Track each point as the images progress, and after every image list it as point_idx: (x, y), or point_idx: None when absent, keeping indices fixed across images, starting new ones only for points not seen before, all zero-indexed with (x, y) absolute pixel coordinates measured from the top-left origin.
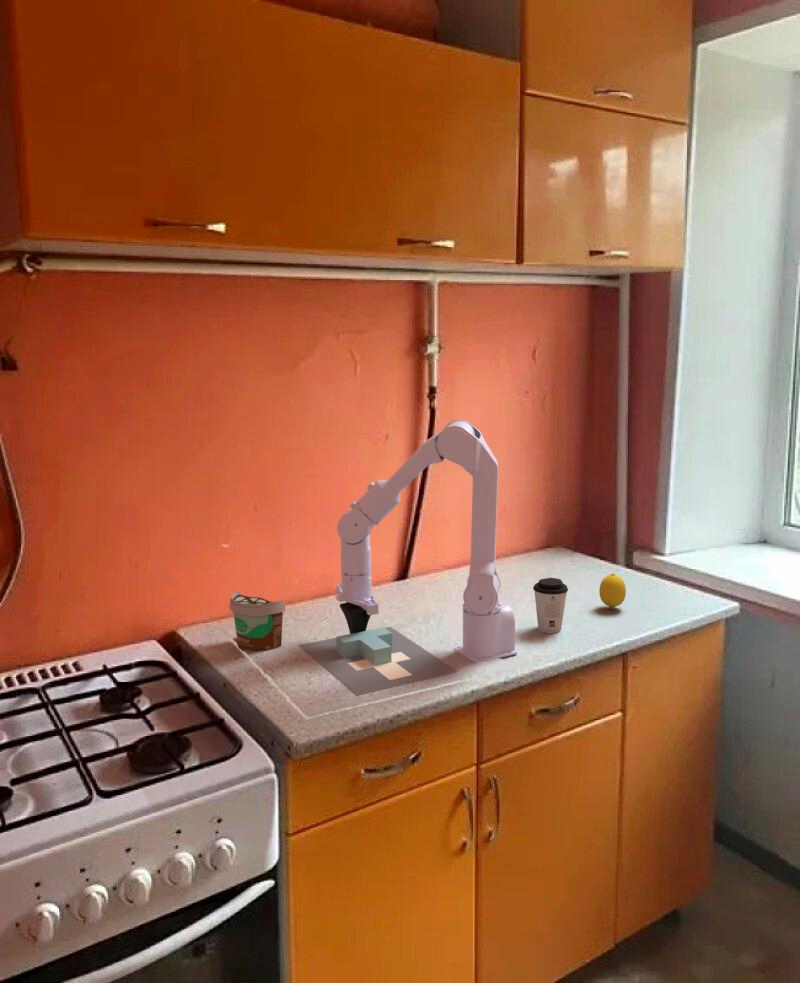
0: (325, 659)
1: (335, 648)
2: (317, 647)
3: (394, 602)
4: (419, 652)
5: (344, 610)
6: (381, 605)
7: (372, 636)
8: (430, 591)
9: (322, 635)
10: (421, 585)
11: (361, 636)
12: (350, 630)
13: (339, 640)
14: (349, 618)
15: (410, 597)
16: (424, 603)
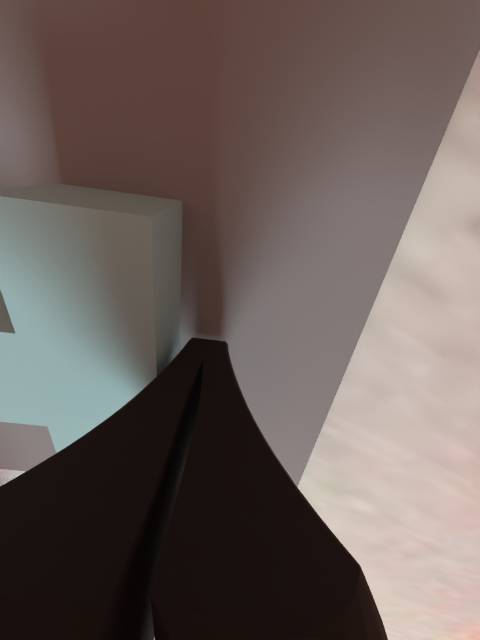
0: (79, 28)
1: (233, 224)
2: (330, 123)
3: (449, 563)
4: (23, 453)
5: (169, 551)
6: (468, 543)
7: (47, 410)
8: (419, 611)
9: (477, 287)
10: (464, 615)
11: (73, 368)
12: (206, 369)
13: (82, 205)
14: (129, 451)
15: (434, 587)
16: (374, 585)
